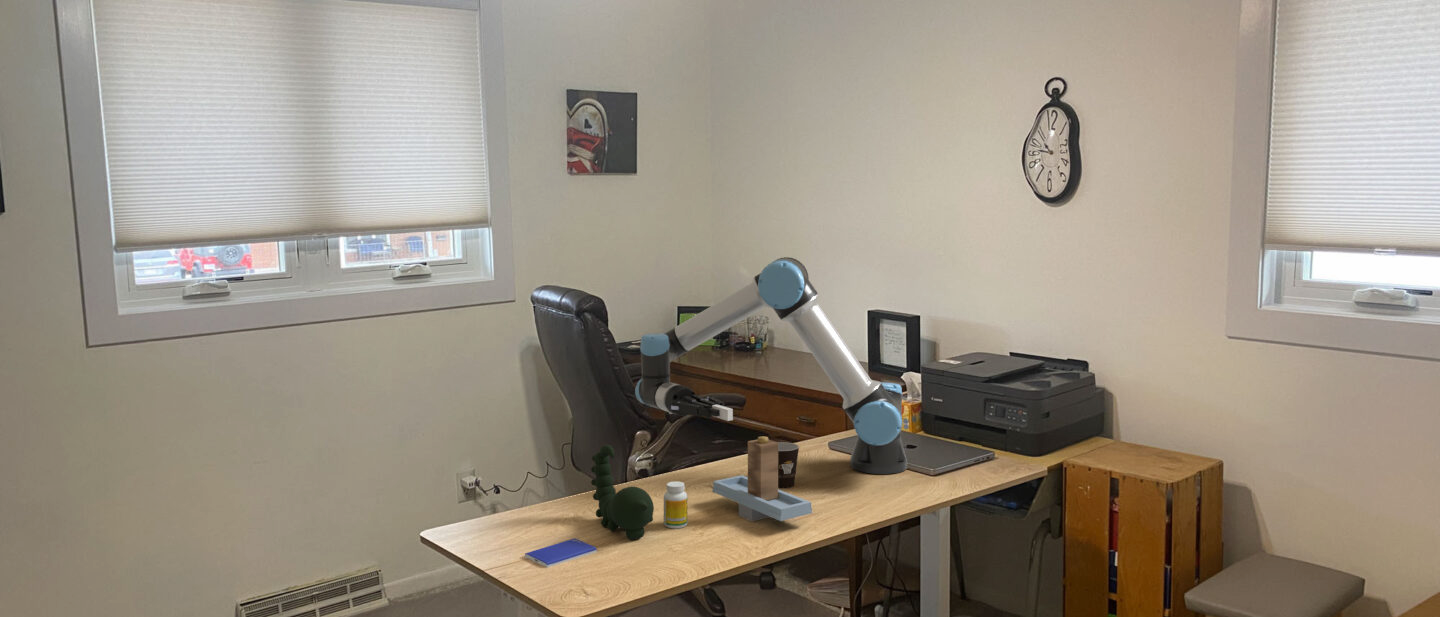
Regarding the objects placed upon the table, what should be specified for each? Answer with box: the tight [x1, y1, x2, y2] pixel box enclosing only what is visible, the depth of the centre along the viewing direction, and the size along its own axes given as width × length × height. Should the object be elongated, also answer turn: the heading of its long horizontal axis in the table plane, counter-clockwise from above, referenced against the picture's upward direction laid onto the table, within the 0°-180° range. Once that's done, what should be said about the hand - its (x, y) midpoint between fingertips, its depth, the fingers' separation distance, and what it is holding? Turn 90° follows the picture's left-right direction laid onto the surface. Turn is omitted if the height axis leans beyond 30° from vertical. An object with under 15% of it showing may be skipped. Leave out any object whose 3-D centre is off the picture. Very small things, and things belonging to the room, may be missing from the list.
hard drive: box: [524, 537, 598, 568], centre depth 215 cm, size 2×8×12 cm
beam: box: [712, 474, 813, 522], centre depth 239 cm, size 26×9×6 cm, turn 35°
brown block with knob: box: [747, 436, 779, 500], centre depth 238 cm, size 5×5×14 cm
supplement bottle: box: [663, 481, 688, 530], centre depth 232 cm, size 5×5×10 cm
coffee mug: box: [777, 441, 800, 489], centre depth 262 cm, size 12×9×10 cm
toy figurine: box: [590, 444, 655, 541], centre depth 228 cm, size 9×19×25 cm
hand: (730, 414), depth 246 cm, fingers closed
